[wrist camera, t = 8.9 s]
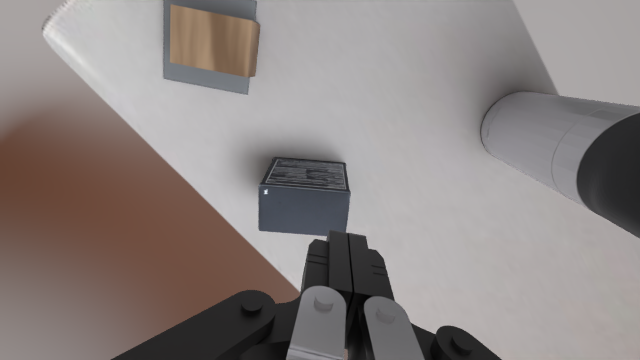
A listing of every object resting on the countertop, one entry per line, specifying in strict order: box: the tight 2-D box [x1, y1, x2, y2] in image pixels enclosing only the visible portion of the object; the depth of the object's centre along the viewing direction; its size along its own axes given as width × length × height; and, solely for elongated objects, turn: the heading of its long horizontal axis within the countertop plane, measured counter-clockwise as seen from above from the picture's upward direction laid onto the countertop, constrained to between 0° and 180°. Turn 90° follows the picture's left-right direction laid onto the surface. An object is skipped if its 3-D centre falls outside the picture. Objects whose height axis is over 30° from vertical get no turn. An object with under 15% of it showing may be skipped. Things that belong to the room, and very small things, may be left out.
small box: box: [258, 157, 351, 236], centre depth 40 cm, size 11×6×10 cm, turn 86°
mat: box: [164, 0, 257, 95], centre depth 38 cm, size 11×11×1 cm
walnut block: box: [170, 4, 260, 77], centre depth 36 cm, size 4×6×9 cm
